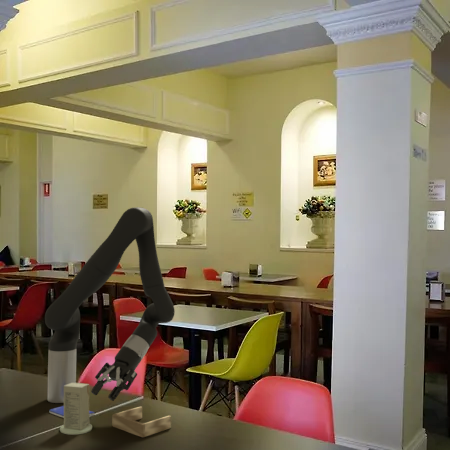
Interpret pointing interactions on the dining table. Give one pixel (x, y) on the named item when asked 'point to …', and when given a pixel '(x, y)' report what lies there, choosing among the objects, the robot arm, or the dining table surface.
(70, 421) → the skincare box
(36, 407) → the dining table surface
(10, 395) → the dining table surface
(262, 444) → the dining table surface
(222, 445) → the dining table surface
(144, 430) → the holder
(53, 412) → the hard drive
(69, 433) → the pale green round disc
